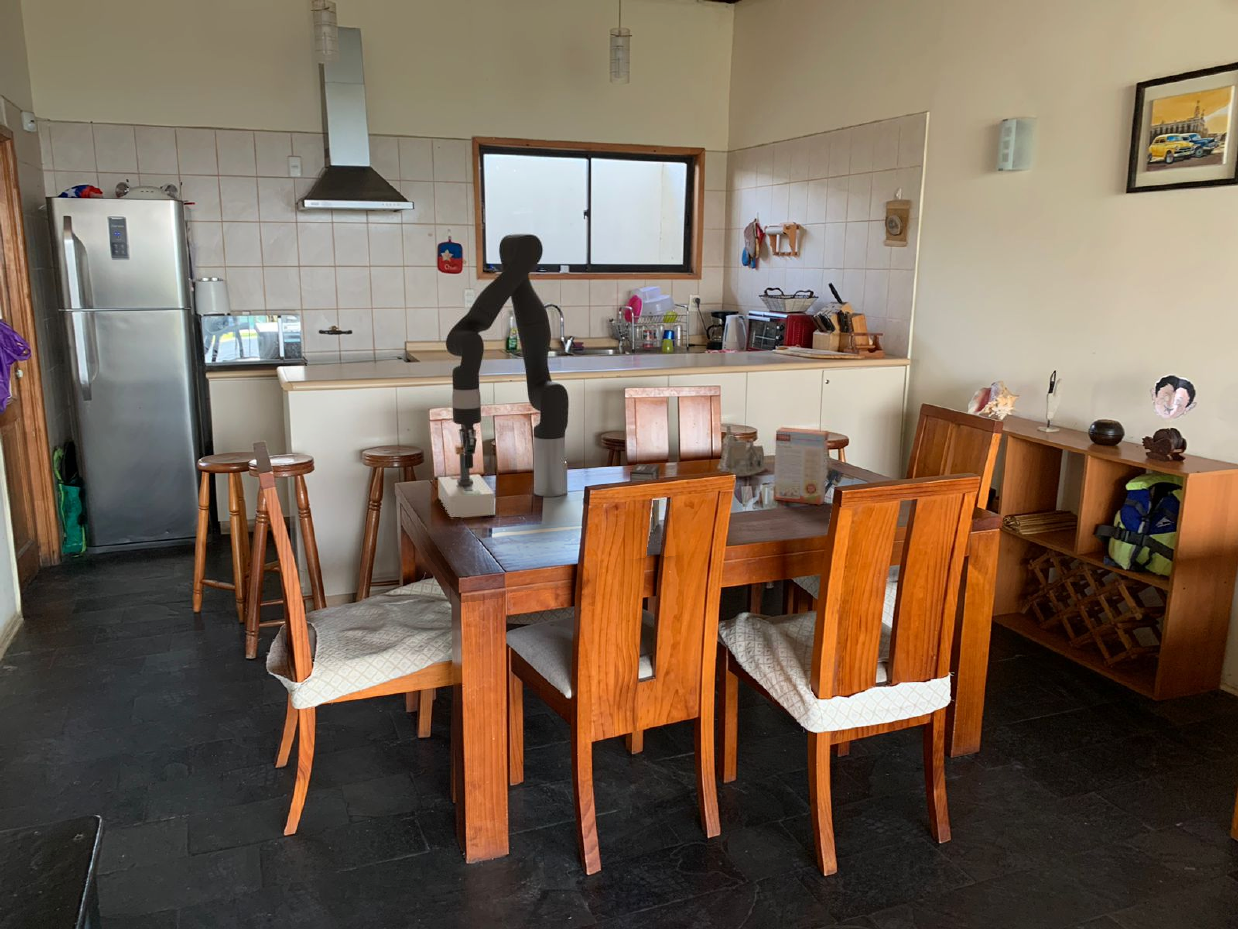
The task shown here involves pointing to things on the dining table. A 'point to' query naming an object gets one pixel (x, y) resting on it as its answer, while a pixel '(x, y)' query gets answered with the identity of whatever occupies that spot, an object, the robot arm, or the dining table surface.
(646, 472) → the coffee box
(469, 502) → the switch panel
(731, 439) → the ceramic cottage
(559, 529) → the dining table surface
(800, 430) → the cracker box
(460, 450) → the breaker knob
